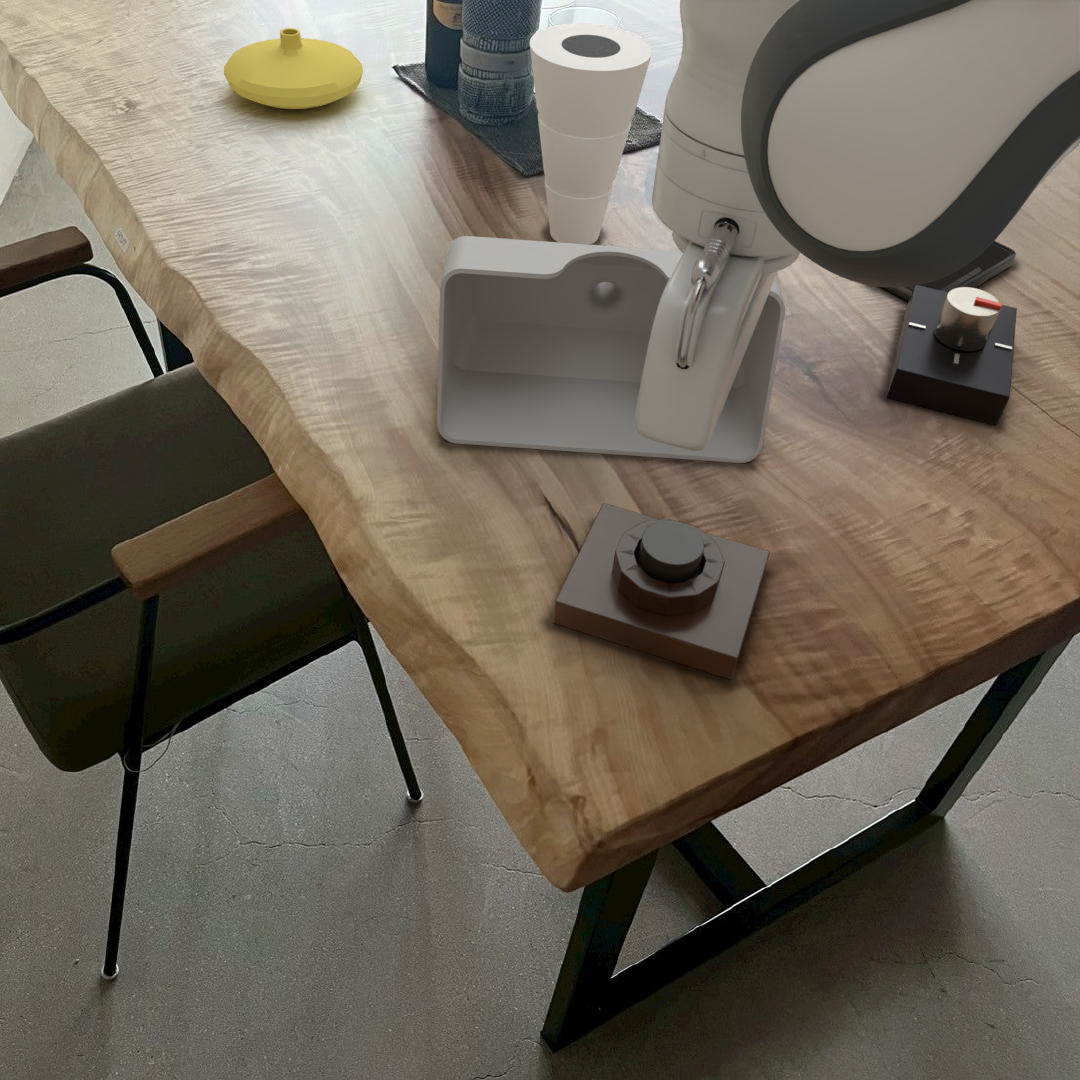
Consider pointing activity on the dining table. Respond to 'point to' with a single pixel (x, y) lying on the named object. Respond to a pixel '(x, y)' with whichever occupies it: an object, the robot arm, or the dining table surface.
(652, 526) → the button
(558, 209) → the white tapered cylinder
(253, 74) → the vase
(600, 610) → the button block
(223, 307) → the dining table surface
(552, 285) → the grey storage bin
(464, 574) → the dining table surface
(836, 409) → the dining table surface
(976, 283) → the phone
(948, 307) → the knob
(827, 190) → the robot arm
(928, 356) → the panel
